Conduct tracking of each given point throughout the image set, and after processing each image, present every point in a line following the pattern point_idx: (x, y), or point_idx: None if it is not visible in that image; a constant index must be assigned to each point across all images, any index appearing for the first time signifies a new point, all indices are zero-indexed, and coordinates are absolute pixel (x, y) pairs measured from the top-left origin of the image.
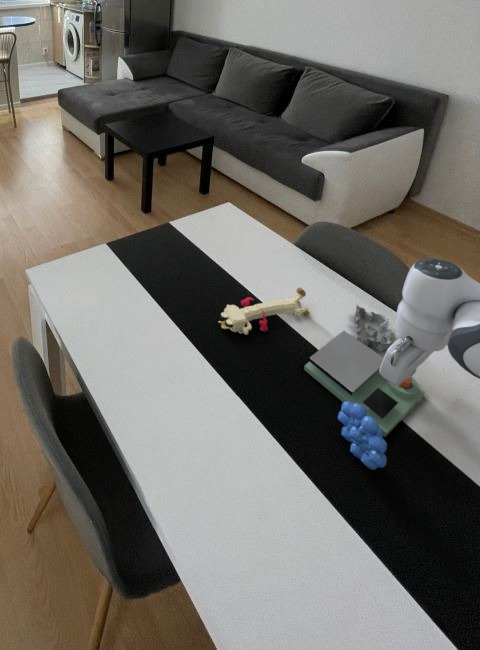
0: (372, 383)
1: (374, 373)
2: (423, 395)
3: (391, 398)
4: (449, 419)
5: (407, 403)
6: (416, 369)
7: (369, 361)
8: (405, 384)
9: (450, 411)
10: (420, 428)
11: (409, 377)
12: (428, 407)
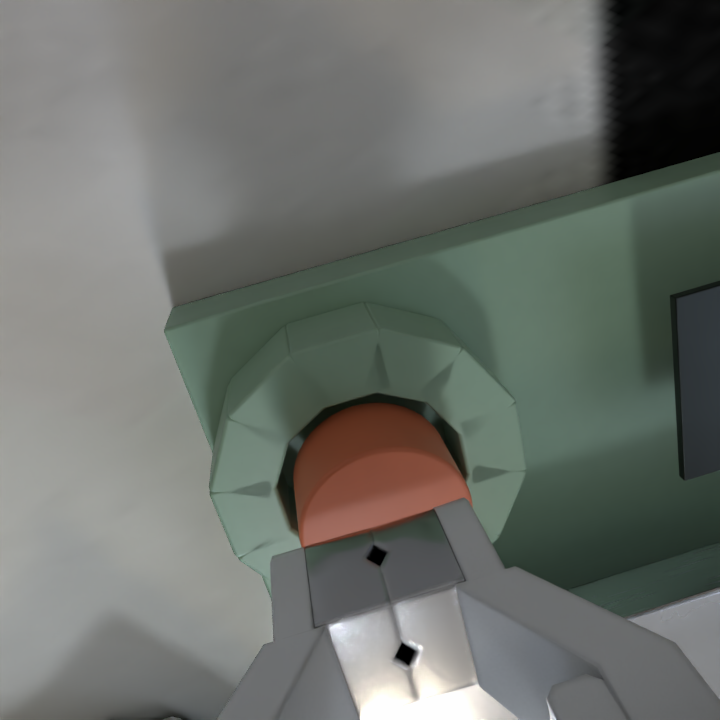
0: (582, 514)
1: (602, 606)
2: (189, 309)
3: (689, 354)
4: (129, 19)
5: (471, 281)
6: (274, 612)
7: None
8: (437, 446)
9: (29, 88)
10: (522, 55)
11: (479, 523)
12: (234, 201)
